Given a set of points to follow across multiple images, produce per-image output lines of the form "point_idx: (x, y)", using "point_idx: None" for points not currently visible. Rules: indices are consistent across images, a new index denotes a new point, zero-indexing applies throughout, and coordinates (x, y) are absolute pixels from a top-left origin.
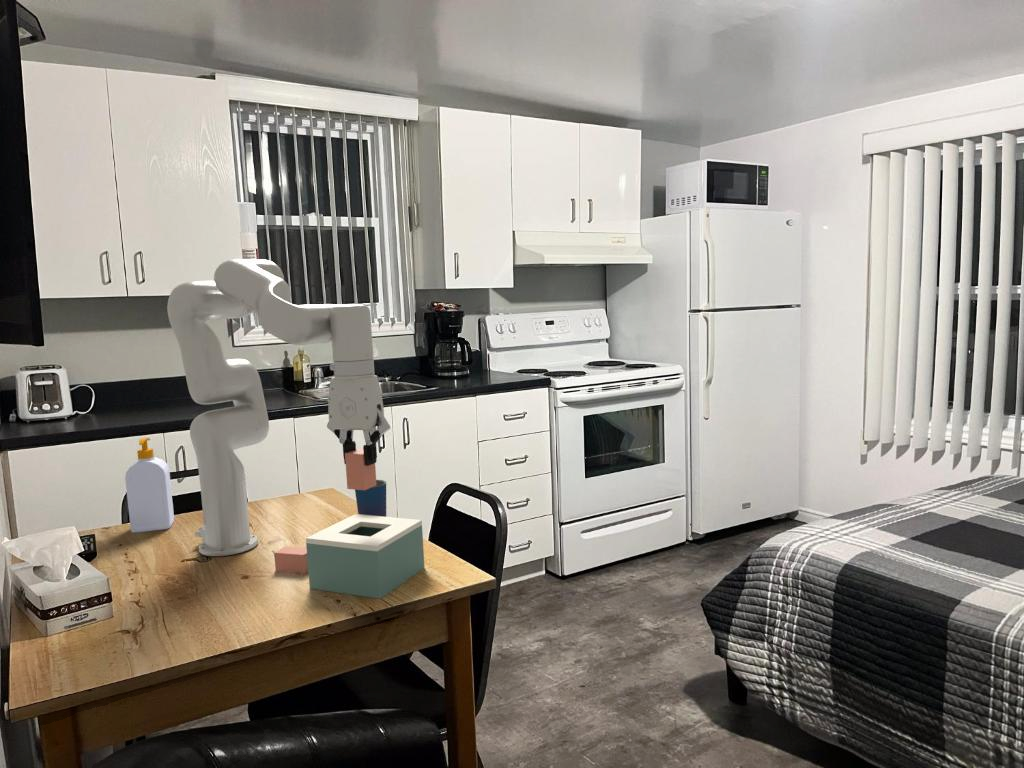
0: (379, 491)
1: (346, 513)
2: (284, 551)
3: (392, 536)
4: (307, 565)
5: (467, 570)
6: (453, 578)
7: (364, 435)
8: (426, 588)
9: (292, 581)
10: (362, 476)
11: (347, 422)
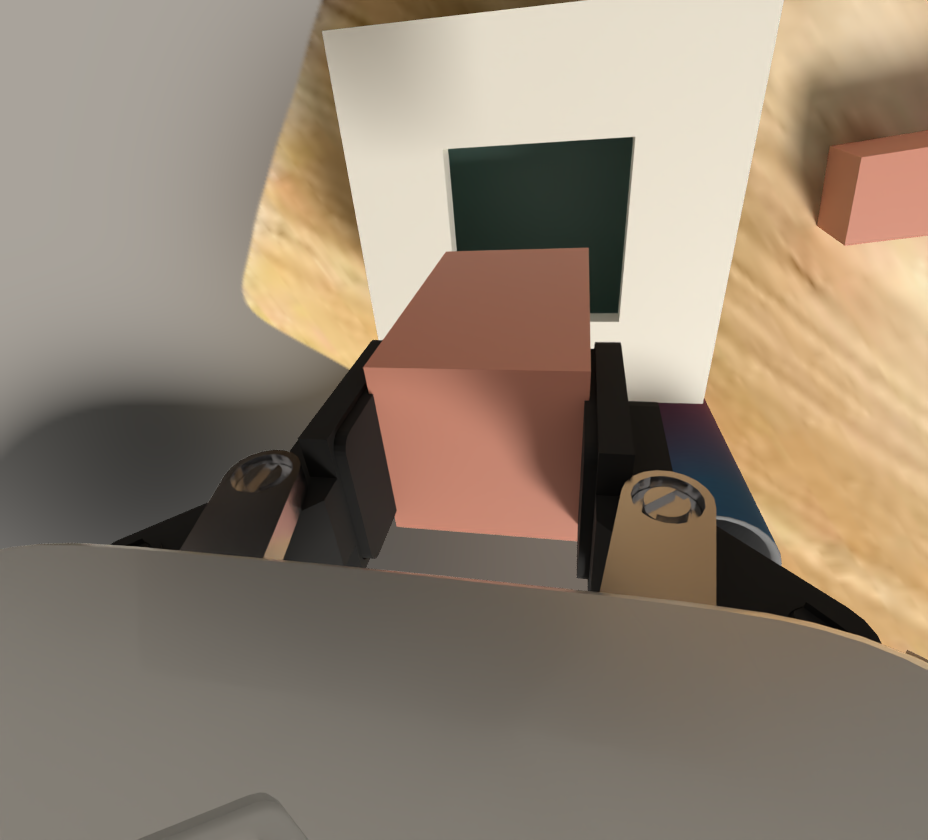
0: None
1: (923, 630)
2: None
3: (353, 185)
4: (835, 170)
5: (316, 338)
6: (311, 277)
7: (264, 535)
8: (327, 184)
9: (846, 41)
10: (433, 283)
11: (355, 701)
